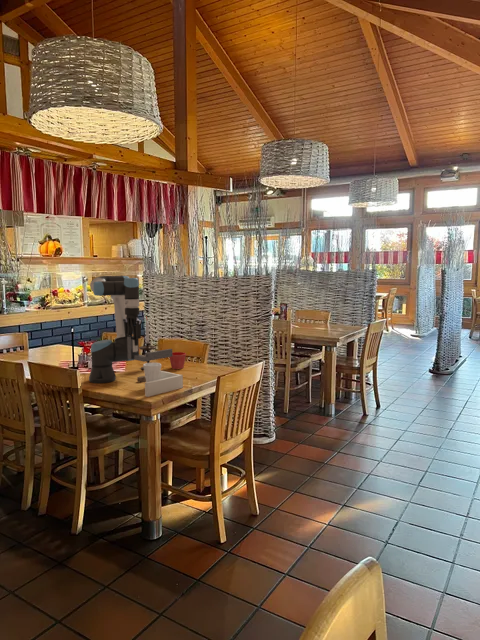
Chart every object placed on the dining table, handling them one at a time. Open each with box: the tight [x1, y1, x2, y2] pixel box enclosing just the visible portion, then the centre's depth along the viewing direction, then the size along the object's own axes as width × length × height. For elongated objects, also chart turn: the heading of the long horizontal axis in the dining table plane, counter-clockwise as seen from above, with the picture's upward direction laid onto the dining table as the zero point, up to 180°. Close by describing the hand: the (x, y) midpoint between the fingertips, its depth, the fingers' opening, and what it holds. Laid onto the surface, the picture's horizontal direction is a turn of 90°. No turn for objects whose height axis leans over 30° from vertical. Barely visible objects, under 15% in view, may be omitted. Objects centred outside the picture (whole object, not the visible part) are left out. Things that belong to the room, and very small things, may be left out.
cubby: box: [144, 370, 184, 398], centre depth 258 cm, size 19×24×7 cm
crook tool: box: [127, 335, 173, 363], centre depth 256 cm, size 14×20×12 cm
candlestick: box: [139, 315, 157, 371], centre depth 309 cm, size 11×11×35 cm
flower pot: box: [169, 351, 187, 370], centre depth 313 cm, size 11×11×10 cm
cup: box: [142, 362, 162, 383], centre depth 261 cm, size 10×10×13 cm
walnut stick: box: [137, 375, 146, 383], centre depth 280 cm, size 16×3×3 cm, turn 141°
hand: (133, 351), depth 252 cm, fingers closed on crook tool, 3 cm apart
